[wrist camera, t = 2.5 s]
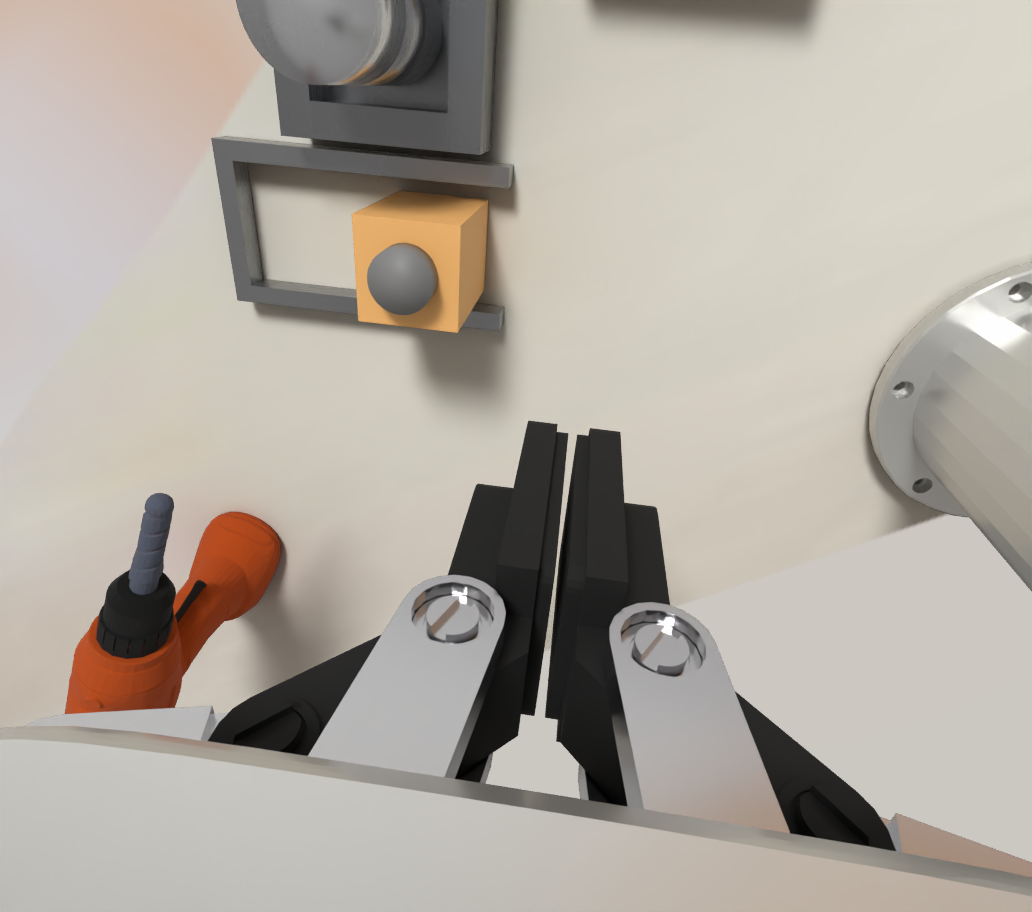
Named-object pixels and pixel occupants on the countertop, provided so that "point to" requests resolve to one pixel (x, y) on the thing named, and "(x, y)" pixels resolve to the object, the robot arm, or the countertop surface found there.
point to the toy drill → (168, 611)
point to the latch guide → (239, 151)
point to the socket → (410, 95)
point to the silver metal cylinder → (345, 39)
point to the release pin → (420, 259)
